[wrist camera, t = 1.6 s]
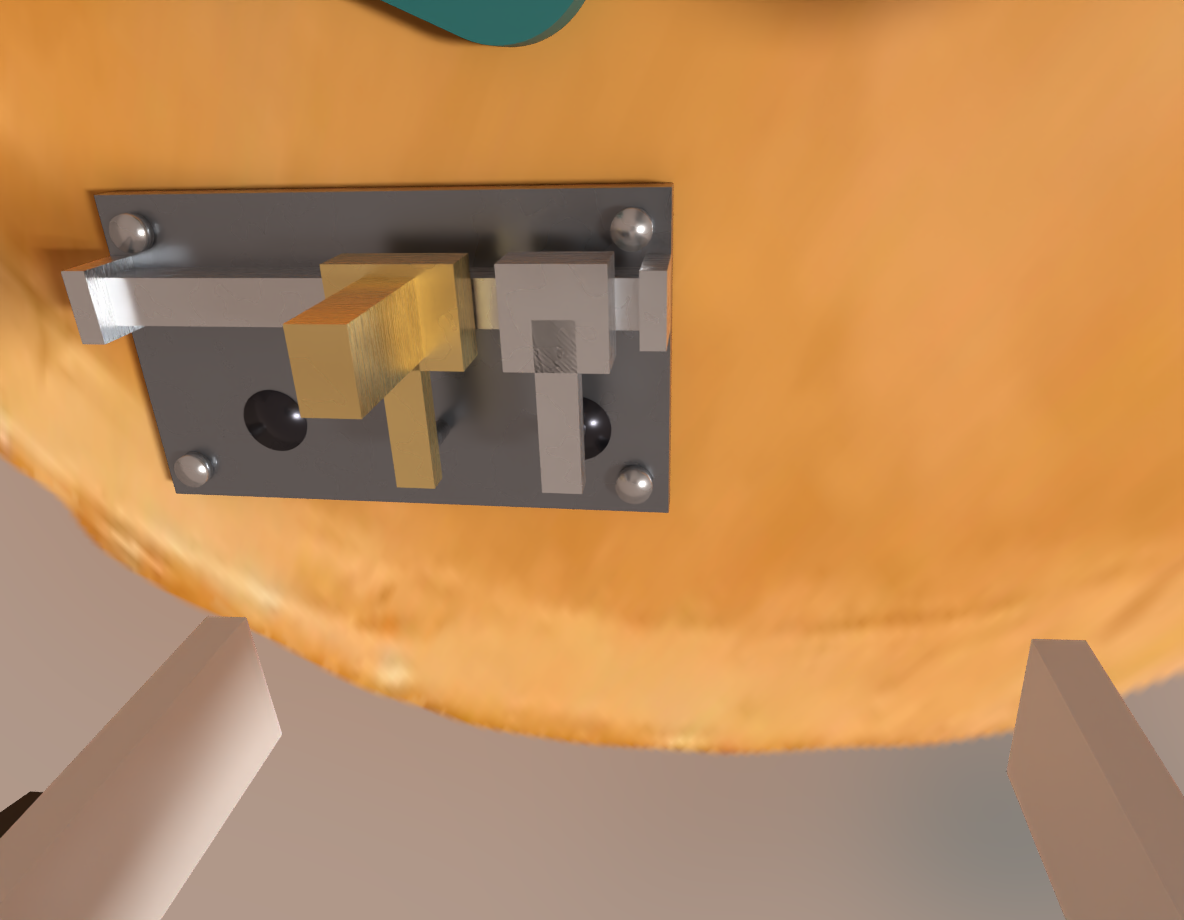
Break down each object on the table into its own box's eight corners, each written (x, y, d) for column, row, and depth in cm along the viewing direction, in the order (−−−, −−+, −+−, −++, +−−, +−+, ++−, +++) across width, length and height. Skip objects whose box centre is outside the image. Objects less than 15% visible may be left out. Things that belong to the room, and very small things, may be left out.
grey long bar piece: (107, 244, 35) (34, 265, 31) (671, 241, 32) (665, 263, 28) (160, 437, 39) (101, 476, 35) (669, 452, 36) (663, 497, 32)
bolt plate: (112, 191, 35) (83, 197, 34) (673, 182, 32) (671, 188, 30) (190, 482, 41) (168, 499, 40) (669, 500, 38) (667, 519, 36)
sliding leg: (360, 244, 33) (232, 307, 24) (480, 243, 32) (393, 308, 24) (390, 447, 37) (288, 565, 28) (498, 450, 36) (429, 572, 28)
